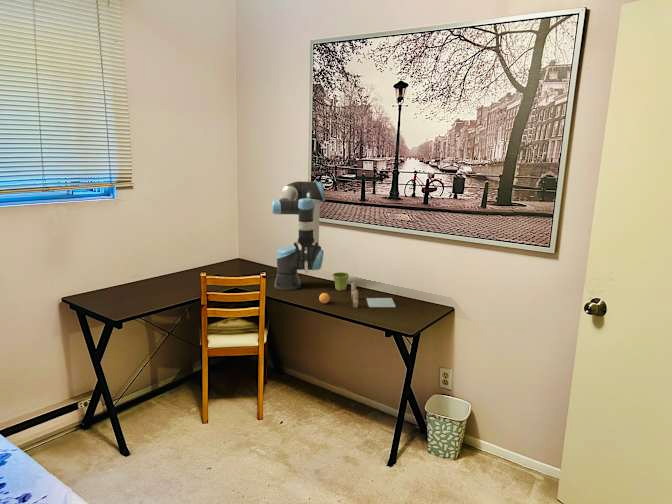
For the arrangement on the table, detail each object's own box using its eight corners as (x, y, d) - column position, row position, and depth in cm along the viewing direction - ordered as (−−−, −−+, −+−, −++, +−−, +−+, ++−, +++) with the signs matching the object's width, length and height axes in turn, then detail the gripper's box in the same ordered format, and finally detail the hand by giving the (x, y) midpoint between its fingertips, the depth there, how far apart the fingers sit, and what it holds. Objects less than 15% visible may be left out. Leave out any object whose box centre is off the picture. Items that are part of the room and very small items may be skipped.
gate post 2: (352, 306, 259) (353, 289, 256) (357, 306, 259) (358, 289, 257) (353, 307, 256) (353, 291, 254) (358, 307, 256) (358, 291, 254)
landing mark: (366, 298, 271) (366, 298, 271) (391, 298, 271) (391, 297, 271) (369, 307, 257) (369, 306, 257) (395, 307, 258) (395, 306, 258)
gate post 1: (351, 298, 271) (351, 282, 269) (355, 298, 271) (356, 282, 269) (351, 299, 268) (351, 283, 266) (356, 299, 268) (356, 283, 266)
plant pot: (347, 292, 281) (347, 277, 279) (331, 290, 283) (331, 276, 281) (350, 287, 290) (350, 272, 288) (334, 286, 292) (334, 271, 290)
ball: (319, 301, 265) (319, 291, 264) (329, 301, 266) (329, 291, 264) (319, 304, 260) (319, 294, 259) (329, 304, 260) (329, 294, 259)
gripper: (292, 230, 249) (293, 275, 255) (318, 230, 250) (318, 275, 255) (293, 227, 256) (293, 271, 262) (318, 227, 257) (318, 271, 262)
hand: (306, 273), depth 258 cm, fingers closed
